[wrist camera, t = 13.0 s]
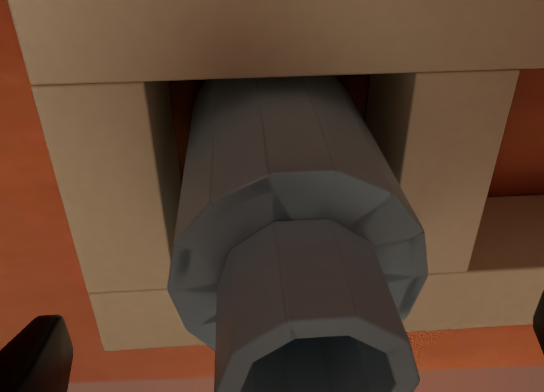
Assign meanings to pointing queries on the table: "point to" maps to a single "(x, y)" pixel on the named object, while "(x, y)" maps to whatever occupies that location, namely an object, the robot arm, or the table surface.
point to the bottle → (294, 241)
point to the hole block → (287, 63)
